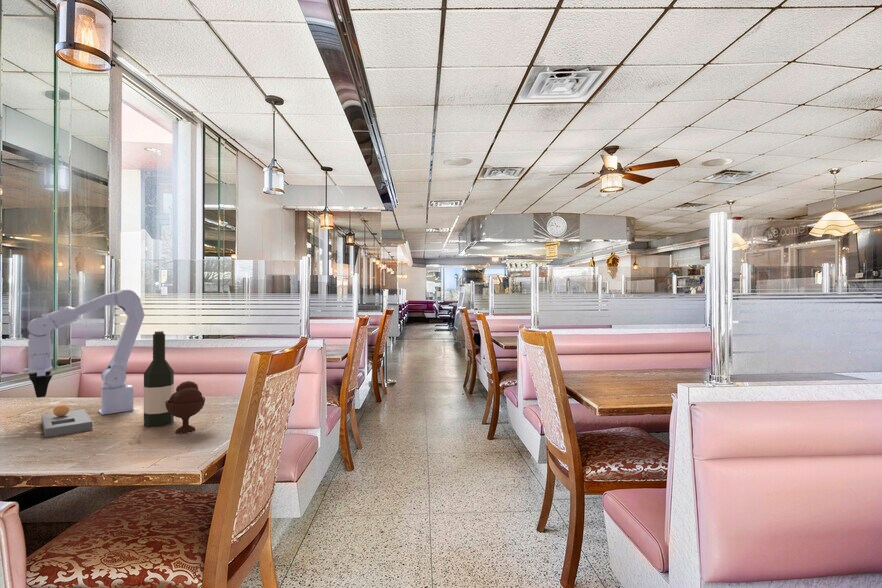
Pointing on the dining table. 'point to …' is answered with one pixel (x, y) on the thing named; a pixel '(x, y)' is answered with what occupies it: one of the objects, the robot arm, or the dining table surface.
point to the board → (66, 423)
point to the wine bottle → (158, 386)
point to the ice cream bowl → (185, 404)
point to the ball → (61, 410)
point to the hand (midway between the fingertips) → (40, 395)
